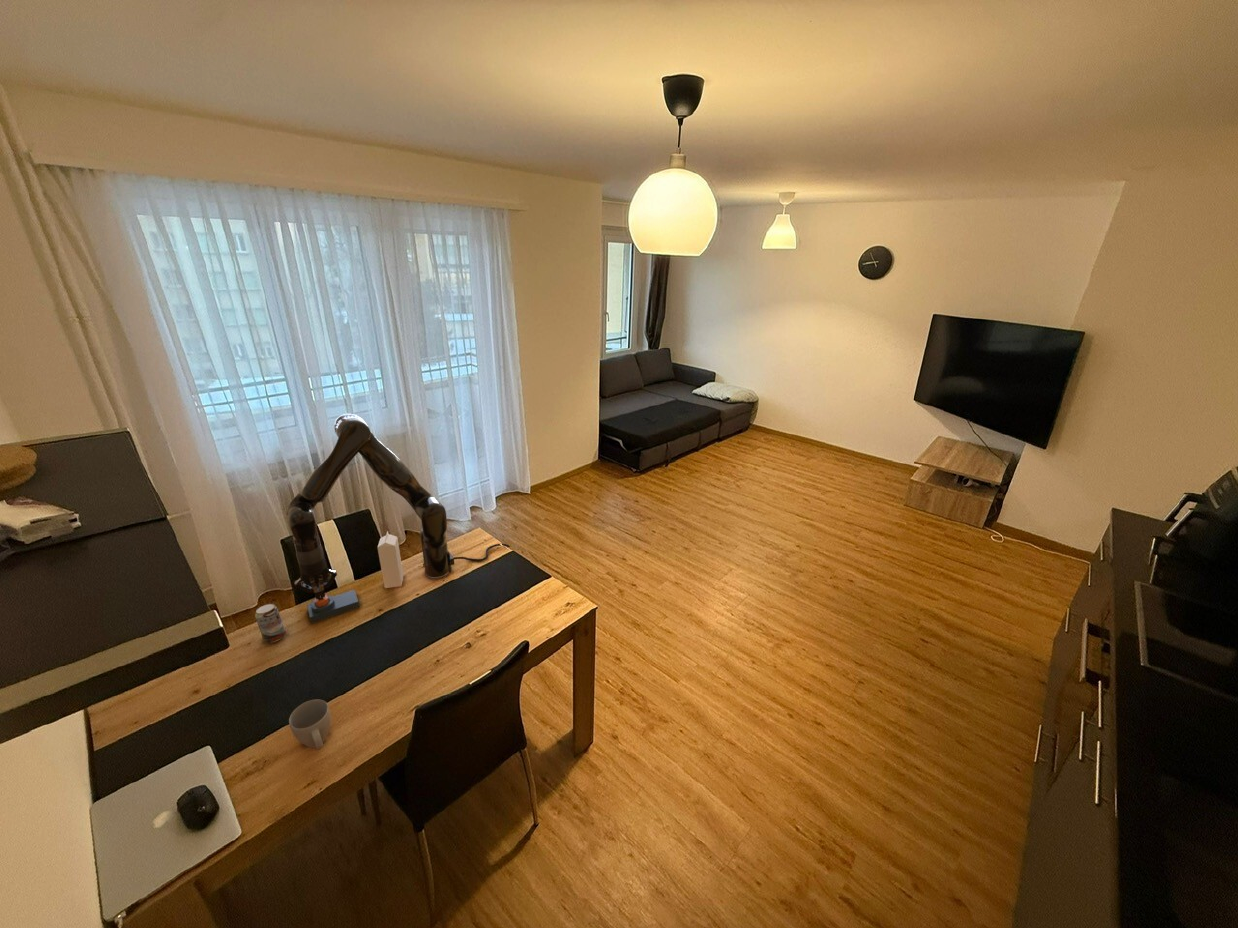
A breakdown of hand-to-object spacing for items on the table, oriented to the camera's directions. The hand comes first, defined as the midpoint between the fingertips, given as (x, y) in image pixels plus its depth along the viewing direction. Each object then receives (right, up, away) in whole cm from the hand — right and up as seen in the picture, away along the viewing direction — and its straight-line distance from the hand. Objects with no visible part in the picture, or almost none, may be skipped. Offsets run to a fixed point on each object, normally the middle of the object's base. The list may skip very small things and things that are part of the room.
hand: (320, 598), depth 167 cm
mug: (+24, -27, -40) cm, 54 cm away
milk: (+17, +1, +19) cm, 25 cm away
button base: (+2, -5, +4) cm, 7 cm away
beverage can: (-10, -11, -9) cm, 17 cm away
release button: (0, -2, +1) cm, 2 cm away
